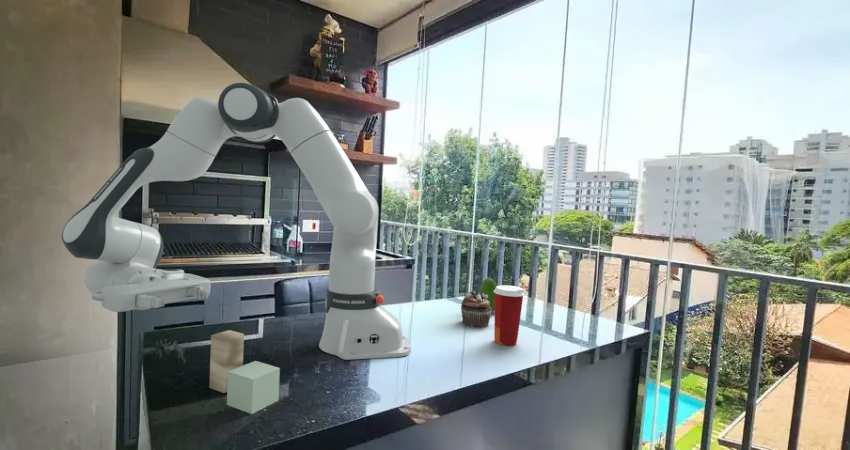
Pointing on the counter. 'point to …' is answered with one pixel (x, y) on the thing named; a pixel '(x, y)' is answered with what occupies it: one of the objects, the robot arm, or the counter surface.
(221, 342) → the maple pillar
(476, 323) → the cupcake
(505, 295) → the coffee cup
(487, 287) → the avocado
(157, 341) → the counter surface
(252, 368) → the sage block
